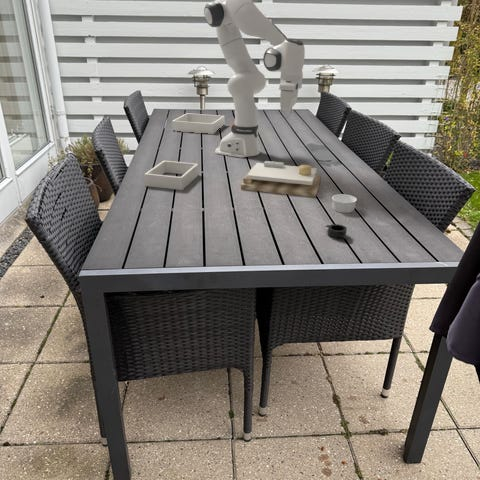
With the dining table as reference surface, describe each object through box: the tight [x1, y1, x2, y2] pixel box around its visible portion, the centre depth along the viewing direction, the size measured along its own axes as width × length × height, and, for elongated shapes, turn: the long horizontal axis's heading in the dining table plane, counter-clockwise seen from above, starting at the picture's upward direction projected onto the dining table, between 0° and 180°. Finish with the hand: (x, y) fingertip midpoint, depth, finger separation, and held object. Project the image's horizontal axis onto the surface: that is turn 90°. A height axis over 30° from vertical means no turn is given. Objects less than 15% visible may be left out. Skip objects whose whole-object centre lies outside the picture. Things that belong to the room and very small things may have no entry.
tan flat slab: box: [240, 165, 322, 198], centre depth 192 cm, size 30×22×4 cm
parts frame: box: [143, 160, 200, 191], centre depth 193 cm, size 16×20×5 cm
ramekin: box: [331, 193, 358, 214], centre depth 169 cm, size 9×9×4 cm
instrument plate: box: [246, 160, 318, 185], centre depth 190 cm, size 26×18×4 cm
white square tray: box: [171, 112, 226, 135], centre depth 282 cm, size 25×25×6 cm
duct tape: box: [324, 223, 351, 240], centre depth 149 cm, size 8×10×3 cm
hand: (288, 117), depth 193 cm, fingers closed
